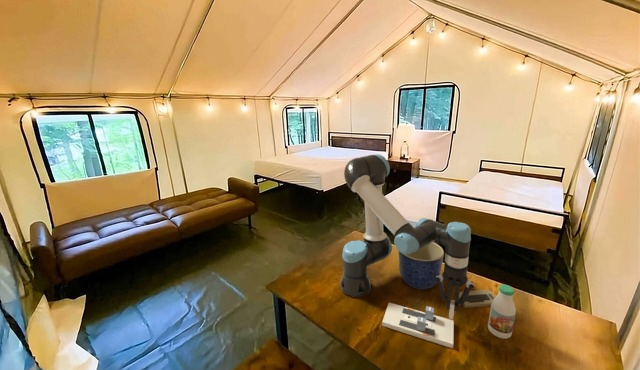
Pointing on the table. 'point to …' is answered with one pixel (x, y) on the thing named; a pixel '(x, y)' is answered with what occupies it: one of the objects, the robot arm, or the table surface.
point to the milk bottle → (502, 313)
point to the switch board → (406, 322)
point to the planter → (421, 266)
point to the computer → (478, 298)
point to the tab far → (429, 313)
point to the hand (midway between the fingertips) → (451, 316)
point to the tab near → (421, 323)
